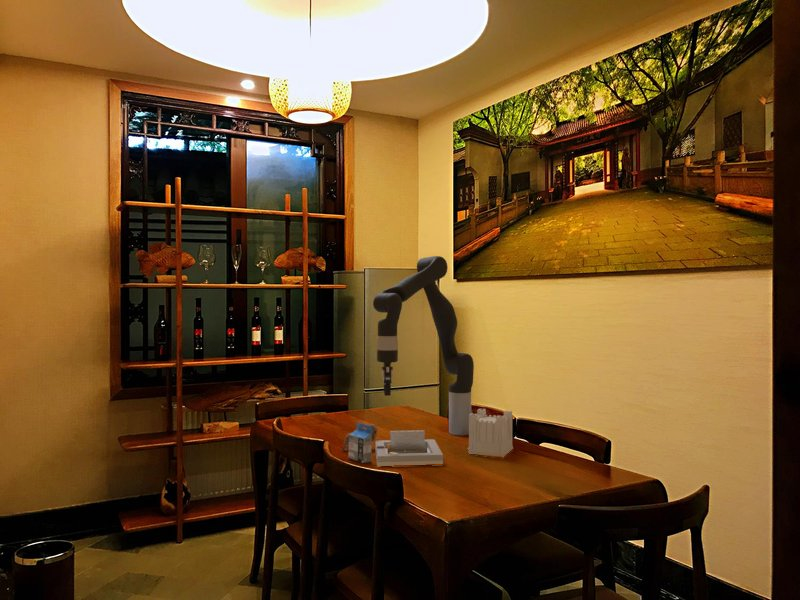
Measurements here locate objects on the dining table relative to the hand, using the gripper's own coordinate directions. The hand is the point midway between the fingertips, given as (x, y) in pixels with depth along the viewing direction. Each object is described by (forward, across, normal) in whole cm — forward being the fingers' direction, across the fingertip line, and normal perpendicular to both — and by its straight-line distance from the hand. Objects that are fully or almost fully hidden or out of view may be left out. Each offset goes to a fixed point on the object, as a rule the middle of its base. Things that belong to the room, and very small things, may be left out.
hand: (387, 393), depth 216 cm
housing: (+22, -5, -7) cm, 23 cm away
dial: (+20, -5, -7) cm, 22 cm away
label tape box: (+22, -7, +9) cm, 25 cm away
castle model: (+22, +1, -37) cm, 43 cm away
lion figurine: (+22, +7, +10) cm, 25 cm away
